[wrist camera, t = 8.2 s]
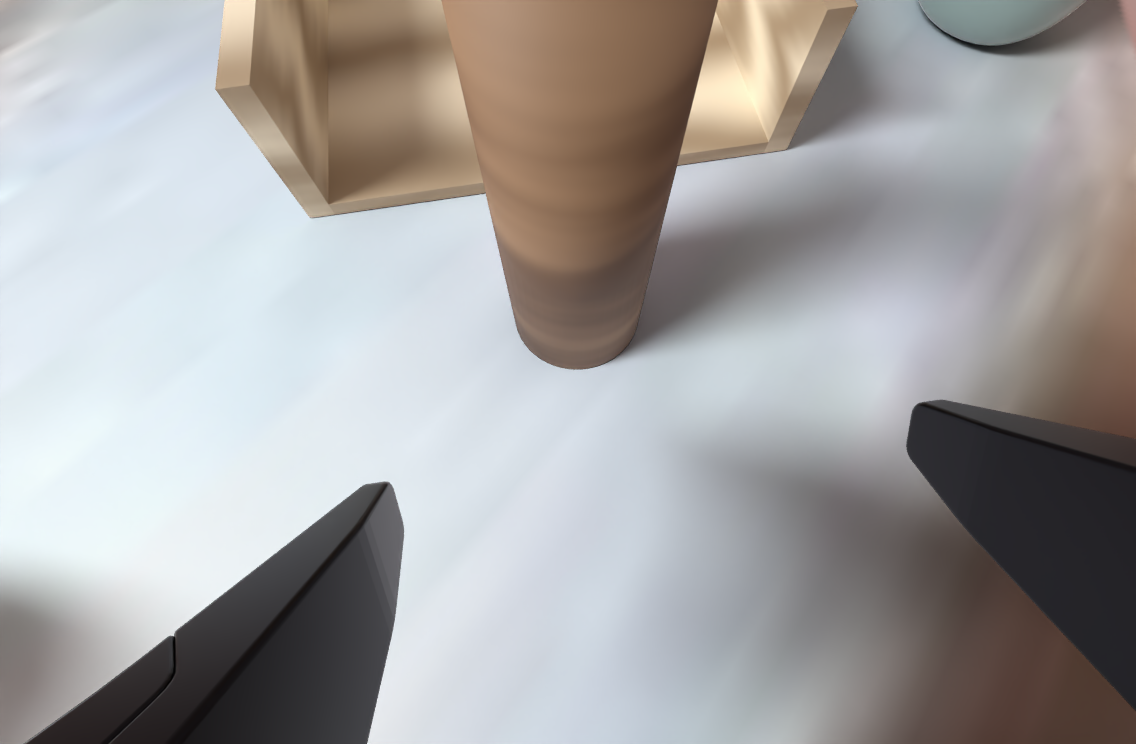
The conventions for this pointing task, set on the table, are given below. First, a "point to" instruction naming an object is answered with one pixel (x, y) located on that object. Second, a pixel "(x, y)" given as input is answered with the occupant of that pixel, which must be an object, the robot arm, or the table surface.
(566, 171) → the pepper mill
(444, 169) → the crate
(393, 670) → the table surface
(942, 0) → the cup
